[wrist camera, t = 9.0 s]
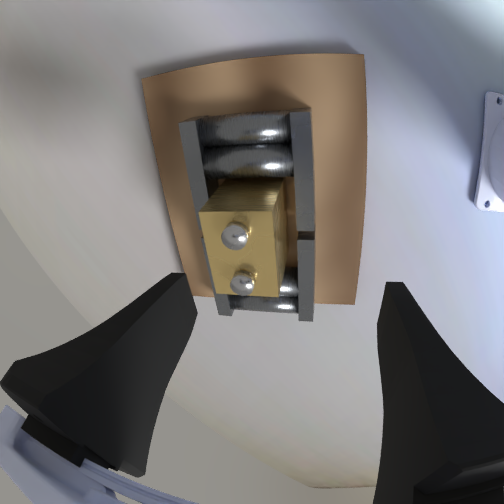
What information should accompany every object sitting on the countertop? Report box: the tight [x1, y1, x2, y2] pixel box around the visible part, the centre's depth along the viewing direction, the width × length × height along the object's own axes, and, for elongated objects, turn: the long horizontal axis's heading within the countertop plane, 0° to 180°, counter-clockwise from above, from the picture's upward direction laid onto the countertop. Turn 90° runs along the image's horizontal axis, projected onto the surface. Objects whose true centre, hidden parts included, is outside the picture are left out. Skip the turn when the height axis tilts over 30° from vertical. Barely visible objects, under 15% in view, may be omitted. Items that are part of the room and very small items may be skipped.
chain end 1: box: [178, 108, 316, 231], centre depth 17 cm, size 7×7×2 cm
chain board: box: [142, 53, 367, 305], centre depth 19 cm, size 13×17×1 cm
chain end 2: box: [201, 224, 316, 322], centre depth 21 cm, size 7×7×2 cm
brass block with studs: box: [199, 177, 289, 297], centre depth 17 cm, size 4×5×6 cm
